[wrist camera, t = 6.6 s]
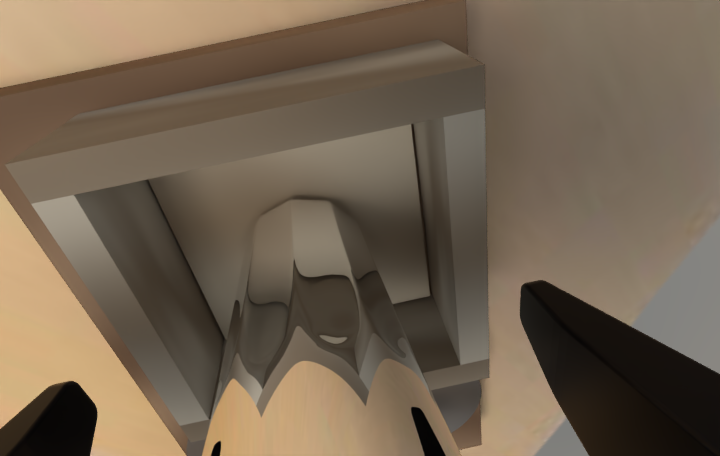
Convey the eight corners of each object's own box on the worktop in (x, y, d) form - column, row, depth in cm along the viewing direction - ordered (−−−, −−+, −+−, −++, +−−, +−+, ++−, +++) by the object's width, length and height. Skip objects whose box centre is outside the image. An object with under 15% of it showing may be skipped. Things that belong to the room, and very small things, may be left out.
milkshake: (267, 118, 10) (261, 895, 2) (414, 233, 13) (663, 763, 5) (160, 243, 11) (-96, 993, 3) (313, 322, 14) (369, 848, 6)
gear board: (470, 415, 21) (509, 517, 17) (224, 469, 21) (207, 584, 17) (446, -4, 11) (524, 13, 7) (-16, 91, 11) (-183, 159, 7)
